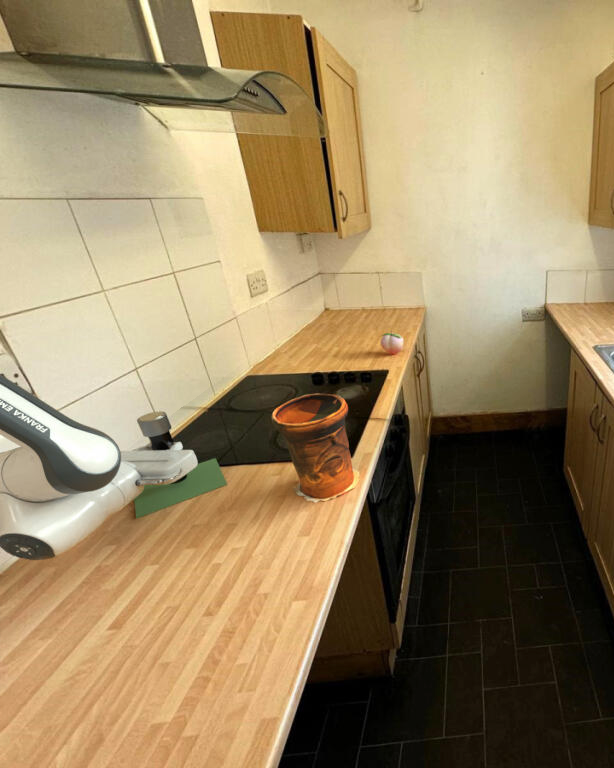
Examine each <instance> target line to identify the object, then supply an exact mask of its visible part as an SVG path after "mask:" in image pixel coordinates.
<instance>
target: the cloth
mask: <svg viewBox="0 0 614 768" xmlns="http://www.w3.org/2000/svg"><path fill="white" fill-rule="evenodd" d="M227 485H228V483H227V481H226V478H225V476H224V474H223V471H222V469H221V467H220V465H219V463H218V460H217V458H216V457H214V458H211V459H208V460H206V461H205V460H204V461H202V462H200V463H199V462H198V465H197V466H196V467H195V468H194V469H193V470H191V471H190V472H189V473H187V478H186V479H185V480H183V481H181V482H179V483H176V484H164V485H144V489H143V491H142V493H141V494H140V495H139V496H137V497H136V498H135V499H134V500H133V501H134V511H135V518H136V519H139V518H142V517H144V516H147V515H150V514H152V513H155V512H158V511H160V510H163V509H165V508H169V507H171V506H174V505H177V504H179V503H182V502H185V501H188V500H190V499H193V498H196V497H198V496H201V495H204V494H207V493H209V492H211V491H214V490H218V489H220V488H222V487H224V486H227Z"/></svg>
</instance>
